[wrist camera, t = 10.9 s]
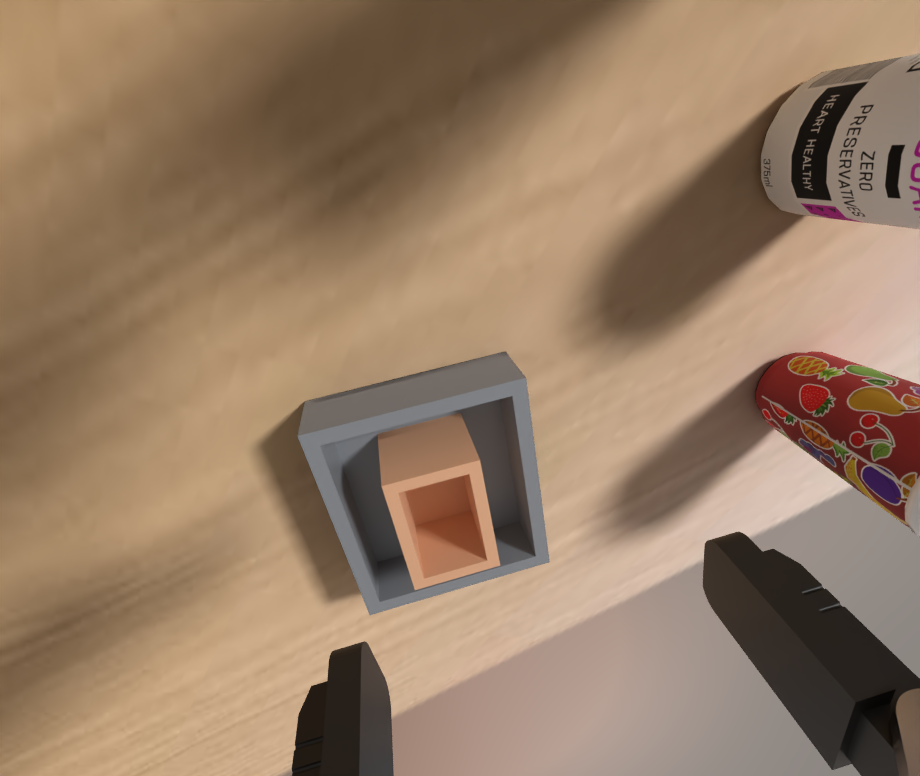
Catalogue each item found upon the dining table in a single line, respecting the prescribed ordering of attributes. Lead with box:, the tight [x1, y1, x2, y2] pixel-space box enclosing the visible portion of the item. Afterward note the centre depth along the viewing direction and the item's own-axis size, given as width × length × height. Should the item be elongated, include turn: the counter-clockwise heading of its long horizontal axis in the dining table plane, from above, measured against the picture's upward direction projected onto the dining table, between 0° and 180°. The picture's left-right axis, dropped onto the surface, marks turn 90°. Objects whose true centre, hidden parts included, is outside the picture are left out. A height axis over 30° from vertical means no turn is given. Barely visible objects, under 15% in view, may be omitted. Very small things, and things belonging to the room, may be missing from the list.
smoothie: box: [755, 352, 920, 536], centre depth 30 cm, size 8×8×20 cm
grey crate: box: [298, 352, 549, 615], centre depth 34 cm, size 14×16×4 cm
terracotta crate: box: [377, 413, 500, 590], centre depth 33 cm, size 6×9×6 cm, turn 10°
